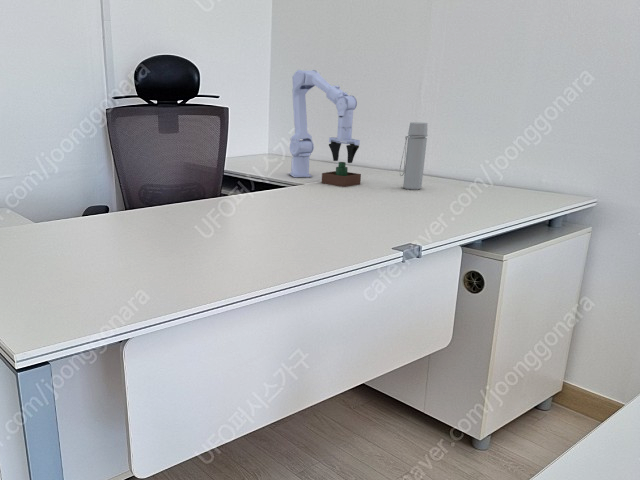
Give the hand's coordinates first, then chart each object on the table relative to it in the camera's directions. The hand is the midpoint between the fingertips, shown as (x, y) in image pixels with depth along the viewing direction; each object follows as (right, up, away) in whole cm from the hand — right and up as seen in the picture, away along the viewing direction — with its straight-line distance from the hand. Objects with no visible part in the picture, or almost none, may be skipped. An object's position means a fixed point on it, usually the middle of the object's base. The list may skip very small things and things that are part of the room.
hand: (342, 161), depth 243 cm
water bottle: (+25, -13, -8) cm, 29 cm away
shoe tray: (0, -8, +3) cm, 9 cm away
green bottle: (0, -8, +2) cm, 8 cm away
